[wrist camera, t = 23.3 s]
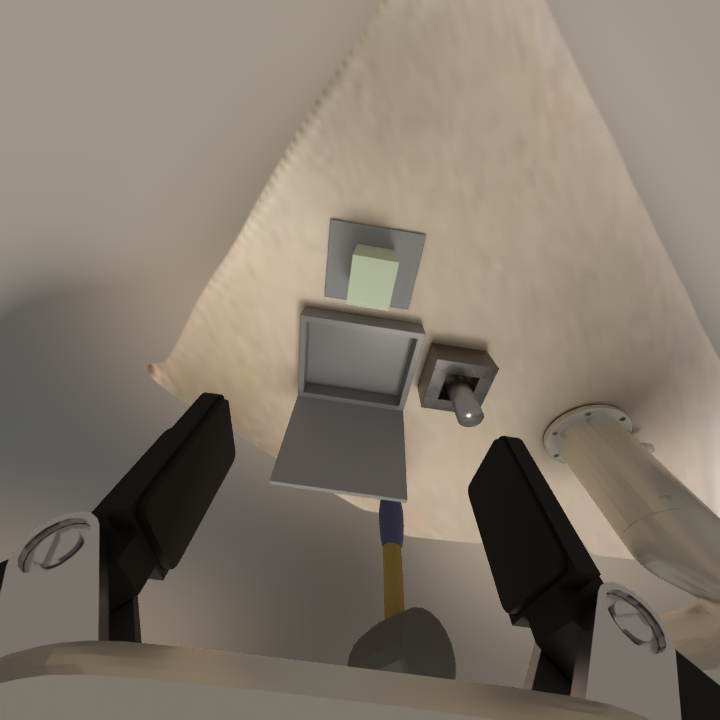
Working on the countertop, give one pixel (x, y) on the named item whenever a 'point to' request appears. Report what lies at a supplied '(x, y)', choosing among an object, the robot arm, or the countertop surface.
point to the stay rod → (463, 400)
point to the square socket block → (458, 362)
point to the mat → (351, 234)
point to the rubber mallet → (402, 618)
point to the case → (357, 358)
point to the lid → (343, 450)
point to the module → (372, 277)
